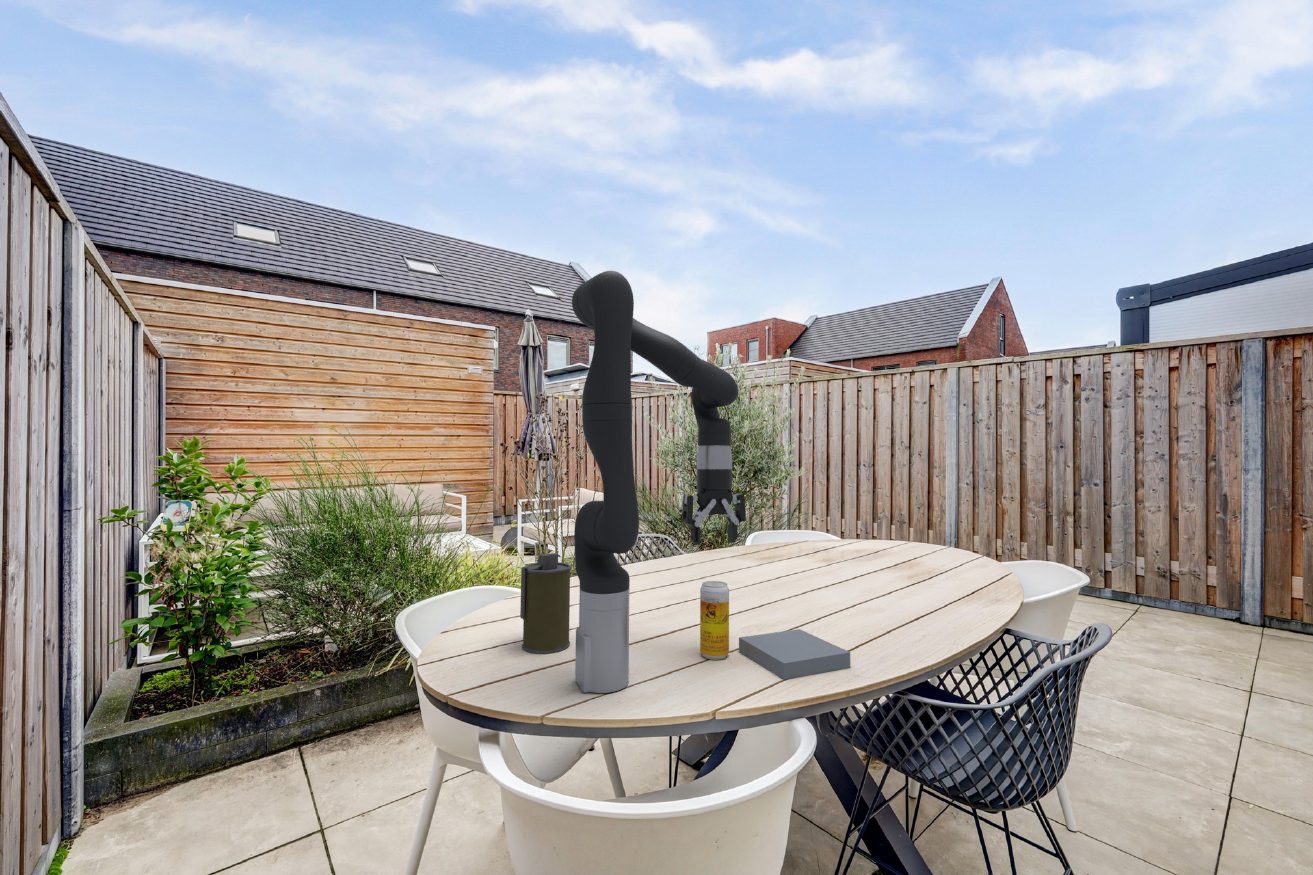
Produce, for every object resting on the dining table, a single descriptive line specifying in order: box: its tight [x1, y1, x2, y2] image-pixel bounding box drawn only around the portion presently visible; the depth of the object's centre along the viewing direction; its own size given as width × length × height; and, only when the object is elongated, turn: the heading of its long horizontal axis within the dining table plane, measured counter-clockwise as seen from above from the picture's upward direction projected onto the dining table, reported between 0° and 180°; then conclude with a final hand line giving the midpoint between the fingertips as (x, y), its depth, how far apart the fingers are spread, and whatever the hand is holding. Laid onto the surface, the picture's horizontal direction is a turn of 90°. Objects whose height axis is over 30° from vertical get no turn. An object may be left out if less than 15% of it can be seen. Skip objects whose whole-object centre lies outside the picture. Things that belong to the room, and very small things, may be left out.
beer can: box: [699, 580, 730, 661], centre depth 112 cm, size 6×6×15 cm
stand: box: [738, 628, 851, 681], centre depth 110 cm, size 16×16×3 cm
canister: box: [519, 552, 572, 655], centre depth 118 cm, size 11×10×20 cm
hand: (714, 543), depth 113 cm, fingers open, 8 cm apart
